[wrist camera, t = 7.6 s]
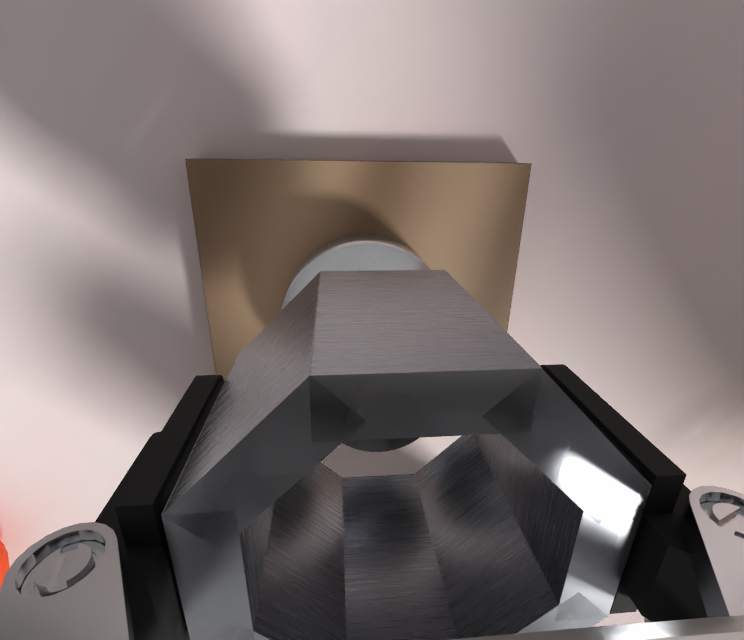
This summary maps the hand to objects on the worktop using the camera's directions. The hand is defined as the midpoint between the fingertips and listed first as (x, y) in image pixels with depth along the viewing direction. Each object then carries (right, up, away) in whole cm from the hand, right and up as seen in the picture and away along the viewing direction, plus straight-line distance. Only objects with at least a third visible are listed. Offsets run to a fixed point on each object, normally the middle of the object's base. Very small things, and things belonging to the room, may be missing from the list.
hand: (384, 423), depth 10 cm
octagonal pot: (0, 0, +1) cm, 1 cm away
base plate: (-1, +3, +9) cm, 9 cm away
